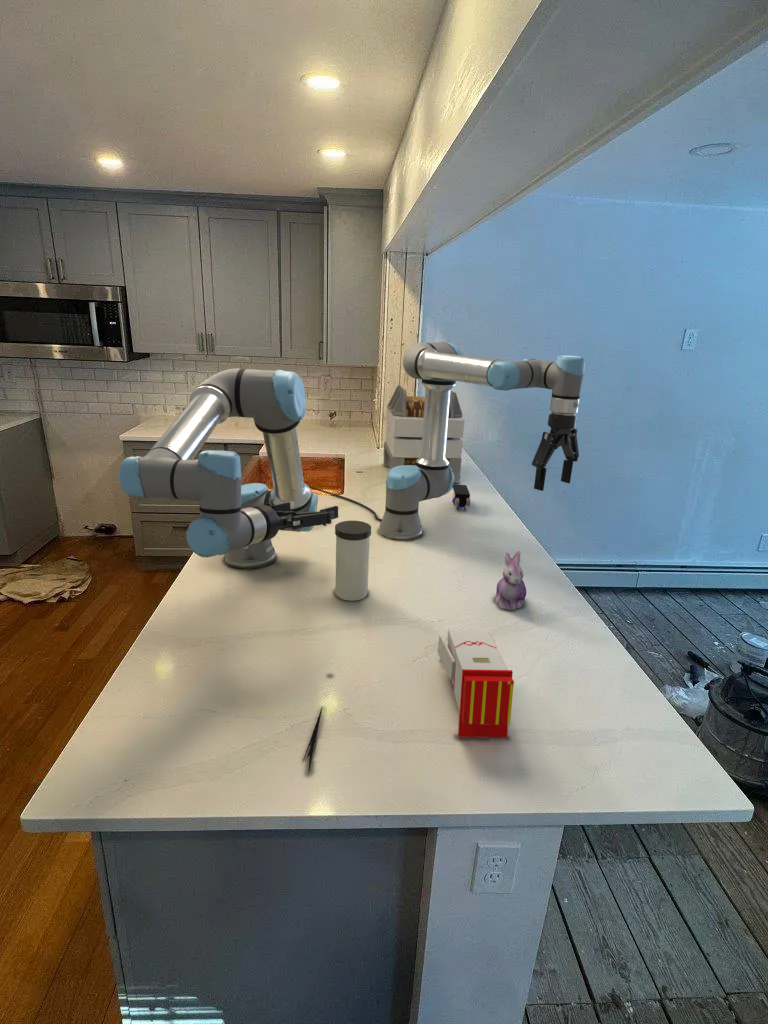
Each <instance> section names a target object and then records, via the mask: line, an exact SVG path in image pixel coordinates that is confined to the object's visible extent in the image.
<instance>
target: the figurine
mask: <svg viewBox="0 0 768 1024" xmlns="http://www.w3.org/2000/svg"><path fill="white" fill-rule="evenodd" d="M521 554H522V553H521V551H520V550H517V551H516V552H515V554H514V555H513V557H512V556H511V554H510V552H508V551H505V552H504V554H503V555H504V568H503V570H502V578H501V579H500V580H498V581H497V583H496V593H495V602H496V604H498V605H499V607H500V609H503V610H508V611H514V610H516V609H521V607H522V606H524V603H525V600H526V597H527V586H526V584H525V582H524V579H523V578H524V571H523V569H522V567H521V564H520V563H521V562H520V561H521Z"/></svg>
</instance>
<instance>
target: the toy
mask: <svg viewBox="0 0 768 1024" xmlns="http://www.w3.org/2000/svg"><path fill="white" fill-rule="evenodd" d="M446 640H447V643H446V641H445V639H444V636H443V635H442V634H439V637H438V646H437V656H438V657H439V659H440V661H441V663H442V666H443V668H444V670H445V672H446V674H447V677H448V679H449V681H450V684H451V687H452V690H453V693H454V697H455V701H456V705H457V708H458V711H459V714H458V715H459V716H458V730H457V731H458V732H457V737H458V738H508V731H509V726H510V725H511V717H512V707H513V697H514V696H513V695H514V684H515V680H514V679H513V673H514V671H513V670H512V669H508V667H507V665H506V662H505V661H504V659H503V658H502V655H501V653H500V651H499V649H498V647H497V643H496V639H495V637H494V635H493V634H491V632H490V631H489V629H467V628H466V629H465V628H463V629H461V628H460V629H459V628H448V630H447V639H446Z"/></svg>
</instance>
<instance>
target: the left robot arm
mask: <svg viewBox="0 0 768 1024" xmlns="http://www.w3.org/2000/svg"><path fill="white" fill-rule="evenodd" d="M306 409H307V401H306V389H305V386H304V382H303V380H302V378H301V377H300V376H299V375H298V374H297V373H296V372H294V371H287V370H283V369H276V370H268V369H252V368H241V367H240V368H238V367H237V368H229V369H226V370H222V371H220V372H217V373H215V374H213V375H211V376H209V377H208V378H206V379H204V380H203V381H202V382H201V383H199V384H198V386H196V387H195V388H194V390H193V391H192V392H191V393H190V395H189V400H188V403H187V405H186V406H185V408H184V409H183V410H182V411H181V412H180V414H179V415H178V416H177V417H176V418H175V420H174V421H173V422H172V423H171V425H169V427H168V428H167V429H166V431H165V432H164V433H163V434H162V435H161V436H160V438H159V439H158V440H157V441H156V442H155V444H154V445H153V446H152V447H151V449H150V450H149V451H148V452H147V453H146V454H145V456H140V455H136V456H128V457H125V458H124V459H123V460H122V462H121V463H120V466H119V469H118V483H119V485H120V489H121V490H122V492H123V493H124V494H125V495H127V496H131V497H140V498H144V499H164V500H165V499H167V500H169V499H170V500H183V501H198V502H199V503H198V504H199V517H197V518H196V519H193V520H192V521H191V522H190V523H189V525H188V528H187V530H186V541H187V544H188V547H189V549H190V550H191V551H192V552H193V553H194V554H195V555H197V556H198V557H201V558H212V557H216V556H223V555H224V562H225V563H226V564H227V565H228V566H231V567H234V568H238V569H256V568H263V567H265V566H268V565H269V564H272V563H273V562H274V561H275V559H276V550H275V547H274V546H273V542H272V539H274V537H276V535H277V534H278V533H279V531H285V532H296V533H300V532H306V533H308V532H311V531H312V530H313V528H314V527H316V526H324V527H327V525H332V521H333V520H336V519H338V518H339V505H334V506H329V507H326V508H323V509H320V510H319V511H317V510H318V503H319V495H318V493H314V492H311V488H309V486H310V485H308V484H307V483H306V482H305V481H304V480H305V479H304V474H303V467H302V460H301V453H300V446H299V440H298V439H299V438H298V433H297V431H298V430H297V427H298V426H299V425H300V423H301V421H302V420H303V419H304V417H305V415H306ZM228 418H245V419H246V418H247V419H249V418H250V419H253V422H254V426H255V427H256V429H257V430H258V431H259V432H261V433H262V436H263V440H264V446H265V450H266V455H267V460H268V466H269V471H270V475H271V480H272V485H273V488H272V489H271V490H269V487H268V485H267V484H265V483H261V482H253V483H252V482H251V483H246V484H242V479H243V475H242V466H241V457H240V455H239V454H238V453H237V452H235V451H232V450H231V451H230V450H214V449H213V450H212V449H211V450H210V449H209V450H203V451H201V452H200V450H201V449H202V447H203V446H204V444H205V443H206V442H207V440H208V439H209V437H210V436H211V435H212V433H213V431H215V429H216V428H217V426H218V425H219V424H222V423H224V422H226V421H227V419H228ZM199 452H200V453H199ZM198 453H199V454H198ZM197 454H198V459H194V458H195V457H196V456H197Z"/></svg>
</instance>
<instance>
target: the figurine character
mask: <svg viewBox="0 0 768 1024" xmlns="http://www.w3.org/2000/svg"><path fill="white" fill-rule="evenodd" d="M452 489H453V493H452V500H451V502H452V504H453V506H454V507H455V508H456V510H457V511H459V510H460V509H463V511H465V512H466V511H467V508H466V507H468V508H470V507H471V493H470V491H469V488H468V486H467V485H466V484H458V483H454V484H453V487H452Z"/></svg>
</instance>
